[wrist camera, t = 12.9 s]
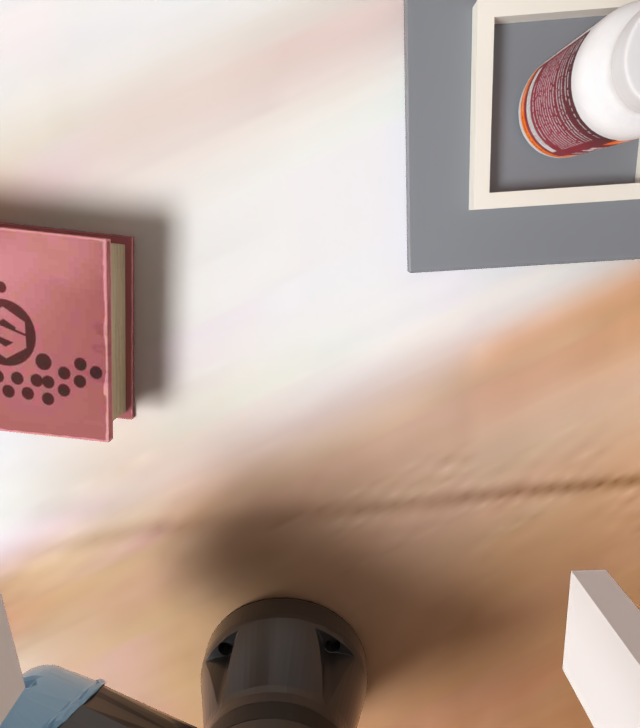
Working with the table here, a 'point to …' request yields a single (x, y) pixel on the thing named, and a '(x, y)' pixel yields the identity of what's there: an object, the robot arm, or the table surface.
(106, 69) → the table surface
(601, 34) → the pill bottle
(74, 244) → the book
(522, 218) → the locating plate
